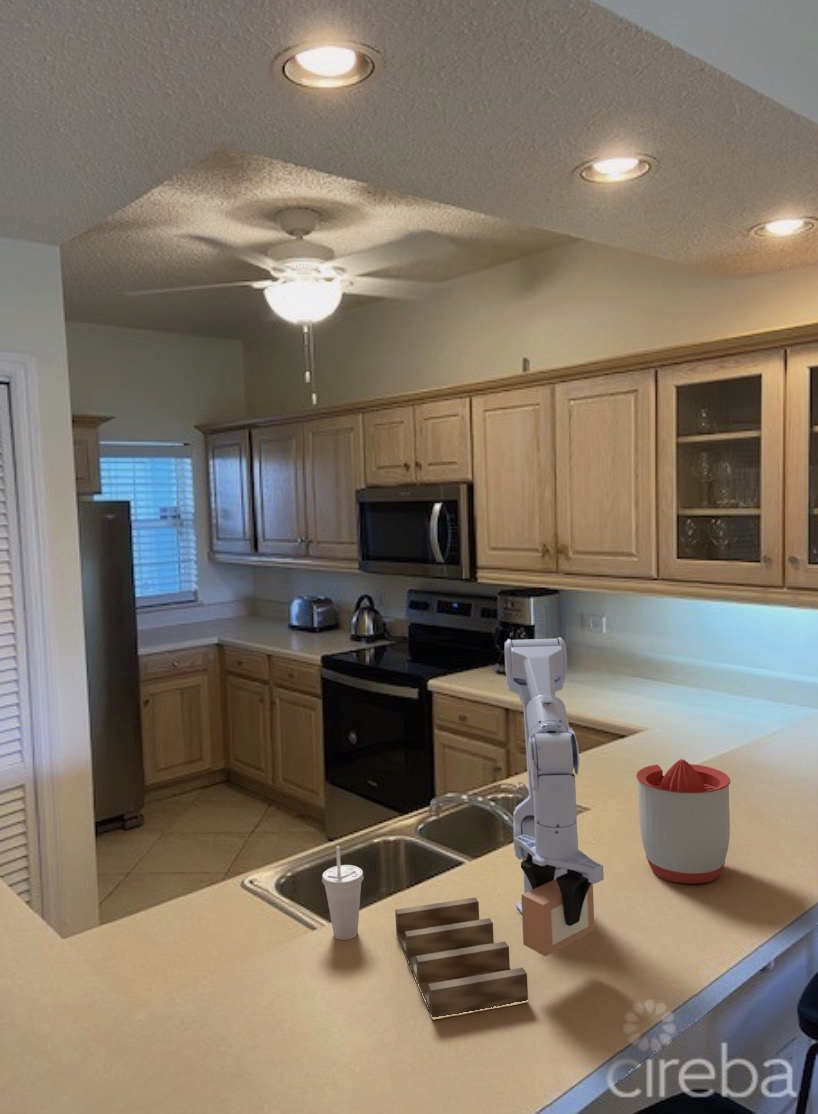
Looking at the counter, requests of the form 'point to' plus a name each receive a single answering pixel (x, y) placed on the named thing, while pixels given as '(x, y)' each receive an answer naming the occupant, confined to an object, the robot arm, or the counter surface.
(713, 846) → the citrus juicer
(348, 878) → the smoothie
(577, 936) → the pink rectangular block
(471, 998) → the rack
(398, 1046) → the counter surface
